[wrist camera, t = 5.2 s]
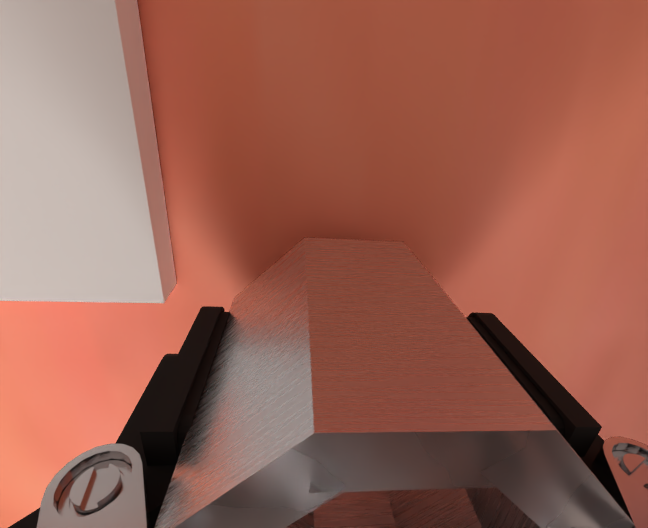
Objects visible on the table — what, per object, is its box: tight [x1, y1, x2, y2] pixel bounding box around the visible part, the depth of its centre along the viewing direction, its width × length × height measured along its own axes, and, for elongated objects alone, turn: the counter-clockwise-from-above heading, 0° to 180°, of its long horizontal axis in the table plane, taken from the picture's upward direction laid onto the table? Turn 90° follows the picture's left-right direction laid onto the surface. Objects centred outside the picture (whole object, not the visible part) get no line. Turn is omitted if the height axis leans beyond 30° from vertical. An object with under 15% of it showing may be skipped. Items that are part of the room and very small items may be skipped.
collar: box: [155, 237, 634, 528], centre depth 8 cm, size 7×7×6 cm
